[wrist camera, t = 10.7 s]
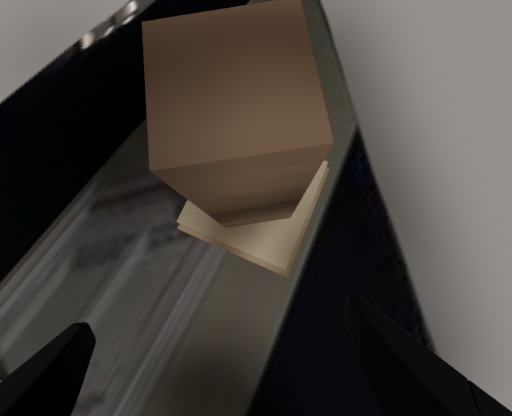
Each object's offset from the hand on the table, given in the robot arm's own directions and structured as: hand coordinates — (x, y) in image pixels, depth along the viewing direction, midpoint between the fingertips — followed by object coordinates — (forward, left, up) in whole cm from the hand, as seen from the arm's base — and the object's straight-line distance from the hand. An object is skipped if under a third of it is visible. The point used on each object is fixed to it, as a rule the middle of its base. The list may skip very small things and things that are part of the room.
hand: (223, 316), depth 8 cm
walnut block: (+2, -7, -9) cm, 11 cm away
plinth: (+2, -7, -13) cm, 15 cm away
